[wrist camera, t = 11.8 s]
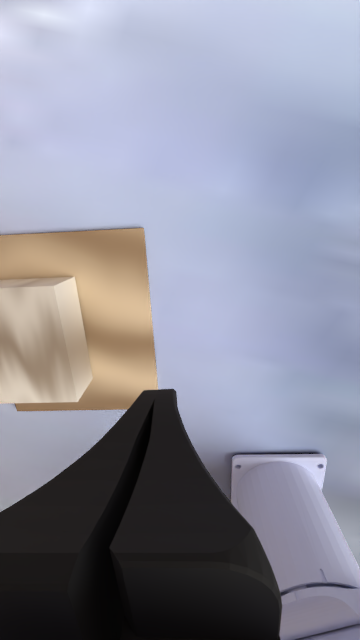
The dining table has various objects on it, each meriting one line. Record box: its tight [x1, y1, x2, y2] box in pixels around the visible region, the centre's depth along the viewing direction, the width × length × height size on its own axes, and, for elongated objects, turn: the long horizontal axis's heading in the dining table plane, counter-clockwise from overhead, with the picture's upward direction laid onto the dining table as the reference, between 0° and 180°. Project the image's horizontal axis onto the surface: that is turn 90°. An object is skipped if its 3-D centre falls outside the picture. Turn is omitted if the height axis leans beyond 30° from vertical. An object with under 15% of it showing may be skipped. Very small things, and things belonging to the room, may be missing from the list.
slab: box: [0, 277, 93, 404], centre depth 18 cm, size 8×3×6 cm
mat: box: [0, 228, 158, 411], centre depth 20 cm, size 14×12×1 cm
